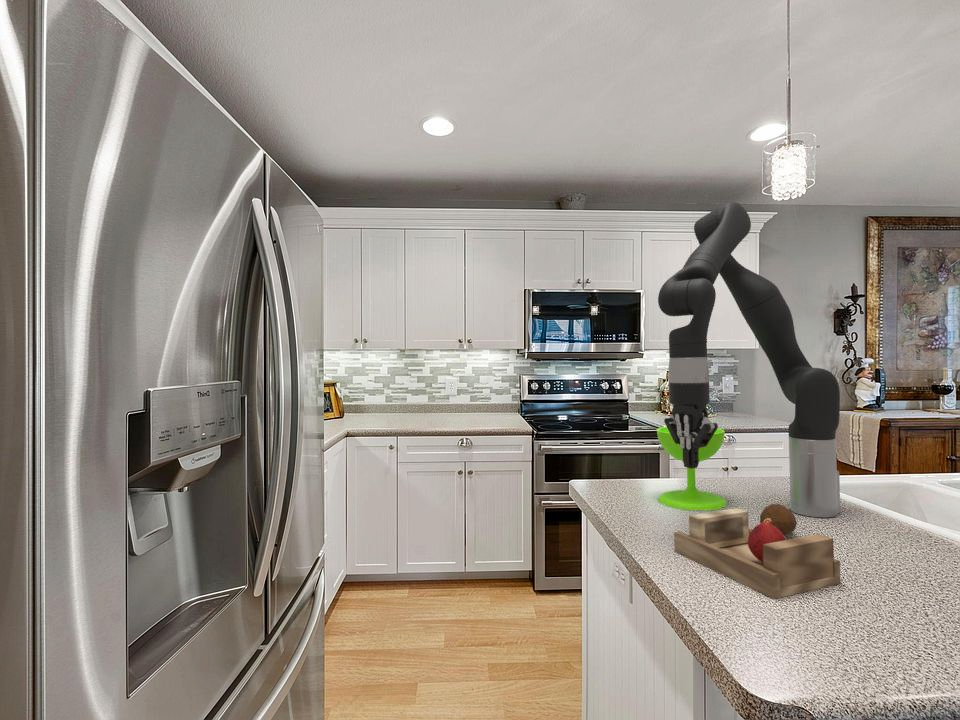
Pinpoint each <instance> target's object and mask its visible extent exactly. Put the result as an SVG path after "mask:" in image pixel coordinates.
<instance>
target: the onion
mask: <svg viewBox="0 0 960 720" xmlns="http://www.w3.org/2000/svg"><path fill="white" fill-rule="evenodd" d="M751 529H752V531H751V533H750V535H749V537H748V547H749V549H750V551H751V553H752V554H753V555H754V556H755V557H756V558H757V559H758V560H760V561H761V562H762V563H763V544H768V543H773V542H778V541H784V540H787V538H786V536H784V535H783V534H782V532H781V531H780V530H779V529H778V528H776V527H775V526H774V525H772V520H771V519H769V518H767V519H765V520H764V521H763V522H762V523H760V522H759V523H758V524H756V525H755V526H754V527H753V528H751Z"/></svg>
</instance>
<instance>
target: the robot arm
mask: <svg viewBox="0 0 960 720" xmlns="http://www.w3.org/2000/svg"><path fill="white" fill-rule="evenodd" d="M751 227H752V222H751V218H750V216H749V213H748V212H747V210H746V209H745V208H744V207H743V206H742V205H741V204H740V203H738V202H734V201H729V202H726V203H724V204H722V205H719V206H718V207H717V208H715V209H714V210H711V211H710V212H708V213H707V214H705V215H704V216H702V217H700V218H699V219H697V220H696V221H695V223H694V225H693V231H694V235H695V238H696V240H697V241H698V244H699V246H697V247H696V248H695V250H693V252H692V253H691V254H690V255H689V256H688V258H687V260H686V261H685V264H684V265H683V266H682V268H681V269H680V270H678V271H677V272H675V273H674V274H673V275H672V276H671V277H669V278H668V279H667V280H666V281H665V282H664V283H663V285H662V286H661V287H660V289H659V292H658V295H657V303H658V307H659V309H660V311H661V312H662V313H663V314H664V315H666V316H669V317H682V316H685V317H687V316H692V318H691V320H690V322H689V323H688V324H687V325H684V326H681V327H676V328H673V329H672V330H671V331H670V332H669V333H668V352H669V353H668V354H669V356H668V358H669V360H668V361H669V362H668V369H667V371H668V374H667V375H668V402H669V404H670V405H673V407H672V410H671V415H670V416H669V417H666V418H664V420H663V421H664V424H665V427H667V428H668V430H669V432H670V434H671V436H672V438H673V440H674V442H675V444H679V445H680V446H681V448H683V461H682V463H683V466H684V467H685V468H686V469H687V468H690V469H691V468H695V469H696V468H698V467H699V463H700V462H699V455H698V450H699V448H701V447H706V446H707V444H708V443H709V441H710V439H711V438H712V436H713V435H714V433H715V431H716V430H717V428H718V429H719V427H718V426H719V425H718V423H716V422H712V421H711V420H710V419H709V413H708V411H707V406H708V404H710V398H711V397H710V396H711V395H710V368H709V362H708V347H707V346H708V345H707V344H708V331H709V326H710V322H711V317H712V313H713V310H714V307H715V303H716V298H717V297H716V296H717V295H716V288H715V286H714V284H715V282H716V281H717V278H718V276H719V275H720V276H721V279H723V281H724V283H725V285H726V286H727V288H728V290H729V292H730V294H731V295H732V297H733V300H734V302H735V303H736V305H737V308H738V309H739V312H740V314H741V315H742V317H743V318H744V320H745V322H746V324H747V325H748V327H749V328H750V330H751V332H752V333H753V335H754V337H755V339H756V340H757V342H758V344H759V345H760V347H761V349H762V350H763V352H764V354H765V355H766V357H767V360H768V361H769V363H770V365H771V367H772V370H773V372H774V375H775V377H776V378H777V382H778V385H779V387H780V389H781V391H782V393H783V395H784V396H785V398H786V399H787V400H788V401H789V402H791V403H792V404H794V418H793V421H792V422H791V423H790V424H789V425H788V428H787V430H788V454H789V455H788V458H789V459H788V460H789V461H788V462H789V463H788V464H789V489H790V490H789V496H790V497H789V498H790V501H789V502H790V511H791V512H792V513H795V514H799V515H801V516H807V517H813V518H833V517H836V516H838V515H839V513H841V489H840V487H841V485H840V479H841V478H840V471H839V470H837V466H838V465H837V441H836V440H837V439H836V438H837V437H836V436H837V435H836V434H837V431H838V427H839V425H840V416H841V415H840V411H841V410H840V409H841V408H840V407H841V390H840V385H839V381H838V380H837V378H836V376H835V375H834V374H833V373H832V372H831V371H829V370H828V369H825V368H819V367H813V366H812V364H810V362H809V361H808V360H807V358H806V356H805V355H804V353H803V352H802V350H801V348H800V346H799V342H798V340H797V337H796V332H795V325H794V319H793V316H792V311H791V309H790V308H789V305H788V303H787V302H786V299H785V298H784V296H783V295H782V293H781V291H780V289H779V287H778V286H777V285H776V284H775V283H773V282H772V281H771V280H769V279H767V278H765V277H764V276H762V275H760V274H757V273H756V272H754V271H752V270H750V269H748V268H747V267H745V266H743V265H742V264H741V263H739V261H737V260H736V258H735V257H734V256H733V255H732V253H733V252H734V250H735V249H736V248H737V247H738V246H739V244H741V242H742V241H743V240H744V239H745V238H746V237H747V235H748V234H749V233H750V232H751ZM684 431H685V432H684ZM678 436H679V437H680V438H679V437H678Z"/></svg>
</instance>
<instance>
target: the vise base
mask: <svg viewBox="0 0 960 720" xmlns="http://www.w3.org/2000/svg"><path fill="white" fill-rule="evenodd" d="M752 529H753V528H749V535H750V533H751V531H752ZM673 535H674V536H673V538H674V539H673V541H674V544H673V545H674V552H675V553H677V554H679V555H682V556H685V557H686V558H687V559H690V560H693V561H695V562H697V563H699V564H701V565H703V566H705V567H707V568H709V569H712V570H713V571H715V572H718V573H720V574H722V575H723V576H725V577H727V578H730V579H732V580H734V581H736V582H738V583H740V584H742V585H744V586H746V587H748V588H750V587H751V588H750V589H753V590H755V591H757V592H759V593H760V594H763V595H765V596H767V597H770V598H771V599H773V600H775V599H780V598H784V597H787V596H793V595H797V594H801V593H806V592H809V591H815V590H818V589H822V588H826V587H831V586H835V585H839V584H841V560H839V559H836V558H835V553H834V551H835V550H834V537H829V536H826V535H824V534H820V533H816V534H812V535H806V536H799V537H795V538H790V539H786V540H784V541H778V542H773V543H768V544H763V563H762V562H761V561H760V560H758V559H757V558H756V557H755V556H754V555H753V554H752V553H751V551H750V549H749V547H748V543H742V544H737V545H731V546H726V547H720V548H718V547H715V546H713V545H711V544H708V543H706V542H704V541H701V540H699V539H696V538H694V537H692V536H690V535H689V534H687V533H684V532H682V531H681V530H679V531H678V530H677V531H673Z"/></svg>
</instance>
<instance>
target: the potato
mask: <svg viewBox="0 0 960 720" xmlns="http://www.w3.org/2000/svg"><path fill="white" fill-rule="evenodd" d="M767 518H769V519H771V520H772V525H774V526H775V527H776V528H778V529H779V530H780V531H781V532H782V534H783V535H784V536H785V537H787V536H789V535H790V534H792V533H793V532H794V531H795V529H796V527H797V525H798V521H797V518H796V516H795V514H794V512H793V511H791V509H789V508H788V507H787V506H785V505H783V504H779V503H776V504H775V503H774V504H772V503H771V504H769V505H768V506H766V507H764V508H763V510H762V512H761V513H760V516H759V524H760V523H762V522H763V521H764V520H765V519H767Z"/></svg>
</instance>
